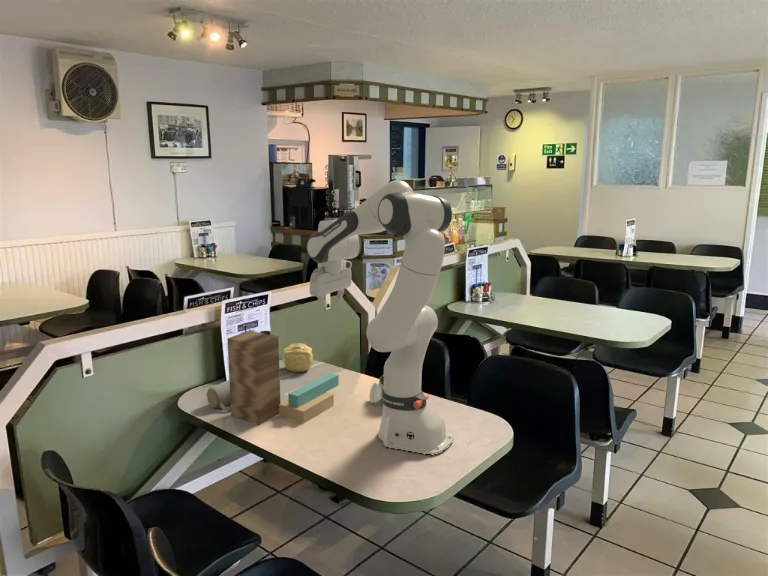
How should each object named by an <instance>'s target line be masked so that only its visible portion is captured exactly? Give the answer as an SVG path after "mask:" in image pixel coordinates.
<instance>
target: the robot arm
mask: <svg viewBox="0 0 768 576" xmlns="http://www.w3.org/2000/svg"><path fill="white" fill-rule="evenodd" d="M452 219H453V209H452V206H451V204H450V203H449V201H448V200H446V199H445V198H442V197H440V196H437V195H429V194H423V193H419V192H414V190H413V188H412V187H411V186H410V185H409V183H407V182H406V181H403V180H401V179H396V180H395V179H394V180H392V181H390V182H388V183H386V184H384V185H383V186H381V187H379V188H378V189H377V190H376V191H375V192H374V193H372V194H371V195H370V196H369V197H368V198H367V199H365V200H364V201H363V202H362V203H360V204H359V205H357V206H356V207H354V208H353V209H351V210H350V211H348V212H347V213H345V214H343V215H341V216H340V217H339V218H326V219H322V220H320V221H319V224H318V228H317V231H316V232H313V233H312V234H311V235H310V237H309V238H308V240H307V243H306V250H307V254H308V256H309V257H310V258H311V259H312V260H313V261H314V262H316V263H317V268H315V269H314V270H313V272H312V273H311V275H310V279H309V294H310V295H311V296H312V297H316V298H317V301H319V307H320V308H326V307H327V301H326V300H325V298H326V295H327V294H331V293H334V292H335V293H336V292H337V295H336V296H335V301H336V302H337V303H340V302H343V296H344V294H345V289H348V288H350V287H351V285H352V269H351V268H352V266H353V265H352V264H353V263H352V261H349V260H350V259H351V260H352V259H354V258H357V257H358V256H359V255H360V253H361V251H362V239H361V236H360V235H367V234H368V235H369V234H376V233H383V232H384V231H388V232H389V233H391V234H392V236H393V237H394V238H395V239H401V238H404V241H405V247H404V252H403V253H402V254H403V255H402V257H401V261H400V265H399V268H398V272H397V275H396V279H395V282H394V285H393V288H392V290H391V291H390V294H389V296H388V297H387V298H386V300H385V302H384V304H383V306H382V307H381V309H380V310H379V312H378V313H377V315H375V316H374V318H373V319H371V320H370V322H368V324H367V327H366V338H367V340H368V344H369V345H370V346H371V348H372V349H374V350H375V351H377V352H380V353H390V352H391V353H390V355H389V356H388V358H386V361H385V363H384V366H383V374H384V389H383V390H382V400H381V404H382V412H381V421H380V423H379V424H380V425H379V429H378V432H377V438H379V440H380V441H381V442H382V441H383V442H382V446H383V445H384V446H385V447H384V446H383V447H384V448H386V447H389V448H388V449H391V448H395V449H394V450H397V449H401V450H400V451H402V450H406V451H405V452H408V451H412V452H411V453H414V452H419V453H425V454H436V453H439V452H441V451H443V450H445V449H446V448H447V447H448V446H449V445H450V444H451V443H452V441H453V442H454V436H453V434H452V433H451V432H449V431H446V430H447V429H446V423H445V421H444V419H443V417H441V415H439V413H437V412H436V411H435V410H434V409H433V408H432V407H431V406H429V404H427V400H428V399H429V398H430V397H429V395H430V394H429V393H428V394H426V395H424V392H423V390H422V375H423V374H422V373H423V372H422V371H423V364H424V360H425V356H426V352H427V349H428V346H429V343H430V340H431V338H432V337H433V335H434V333H436V330H437V328H438V325H439V319H438V315H437V314H436V311H435V310H434V309H433V308H432V307H431V306H429V305H427V304H428V303H429V302H430V301H431V300H432V298H433V296H434V292H435V289H436V288H437V287H436V286H437V283H438V279H439V277H440V273H441V270H442V268H443V267H442V266H443V261H444V256H445V247H446V238H445V237H444V235H443V234H442V232H444V231H446V230H447V229H448V228H449V226H450V224H451V223H452ZM452 444H453V443H452ZM452 444H451V445H452ZM446 450H447V449H446ZM446 450H445V451H446ZM419 453H418V454H419ZM425 454H424V455H425Z"/></svg>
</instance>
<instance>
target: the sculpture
mask: <svg viewBox="0 0 768 576" xmlns="http://www.w3.org/2000/svg"><path fill="white" fill-rule="evenodd" d="M282 352H283V356H282V360H283V364H284V367H285V368H286V369H287V370H288V371H290V372H292V373H302V372H306V371H308V370H309V369H310V368H311V367H312V364H313V362H314V355H313V348H312V347H311V346H308V345H306V343H300V342H299V343H298V342H297V343H290V345H288V346H286V347H285V348H283V349H282Z"/></svg>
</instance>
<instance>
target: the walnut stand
mask: <svg viewBox="0 0 768 576" xmlns="http://www.w3.org/2000/svg"><path fill="white" fill-rule="evenodd" d="M279 342H280V341H279V335H274V334H271V335H269V334H264V333H260V332H259V331H254V330H247V331H245V332H241V333H238V334H237V335H233V336H231V337H227V357H228V359H227V360H228V376H229V378H228V380H230V399H231V404H230V408H231V411H230V412H231V413H230V416H231V417H234V418H237V419H239V420H243V421H247V422H248V423H249V422H250V423H252V424H256V425H259V426H260V425H263V424H264V423H265V422H267V421H269V420H271V419H273V418H275V417H276V416H279V404H281V403H282V402H281V380H280V379H281V377H280V372H281V371H280V352H279V351H280V348H279V347H280V345H279V344H280V343H279Z"/></svg>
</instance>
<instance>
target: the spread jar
mask: <svg viewBox="0 0 768 576" xmlns="http://www.w3.org/2000/svg"><path fill="white" fill-rule="evenodd" d="M378 381H379V382H374V383H372V386H371V388H370V391H369V402H370V403H371V404H378V402H379V401H382V390H383V389H384V373H383V374H382V375H381V376H380V377H379V379H378Z"/></svg>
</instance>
